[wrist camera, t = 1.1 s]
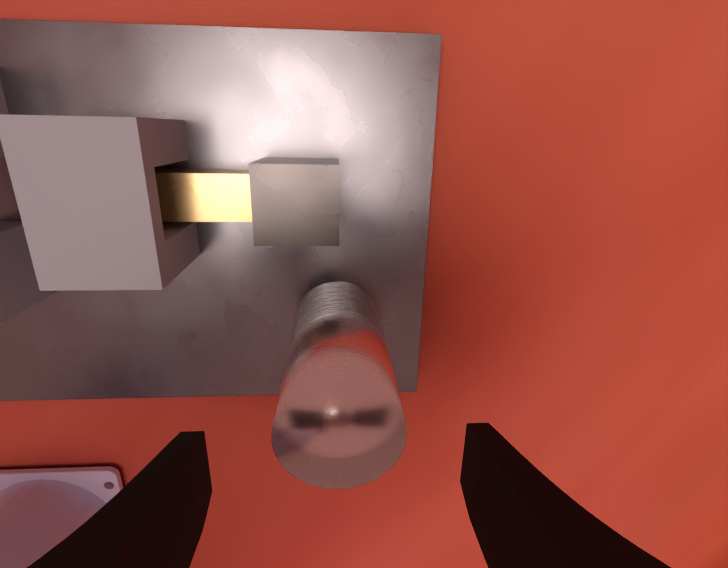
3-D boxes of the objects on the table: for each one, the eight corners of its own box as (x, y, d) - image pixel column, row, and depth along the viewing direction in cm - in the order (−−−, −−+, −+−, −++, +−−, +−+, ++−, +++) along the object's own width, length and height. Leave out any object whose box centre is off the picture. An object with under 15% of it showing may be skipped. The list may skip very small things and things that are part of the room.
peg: (378, 357, 21) (403, 486, 13) (296, 359, 21) (274, 491, 13) (381, 281, 20) (410, 377, 12) (293, 281, 19) (267, 380, 12)
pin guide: (200, 254, 19) (162, 289, 15) (104, 254, 18) (39, 290, 14) (184, 120, 17) (135, 116, 13) (77, 117, 16) (-7, 114, 12)
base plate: (413, 380, 23) (416, 391, 22) (-111, 391, 21) (-132, 403, 20) (435, 39, 17) (441, 34, 16) (-271, 15, 15) (-310, 8, 14)
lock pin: (338, 225, 18) (339, 245, 15) (73, 224, 18) (13, 245, 14) (338, 158, 18) (339, 165, 14) (57, 153, 17) (-10, 160, 13)
